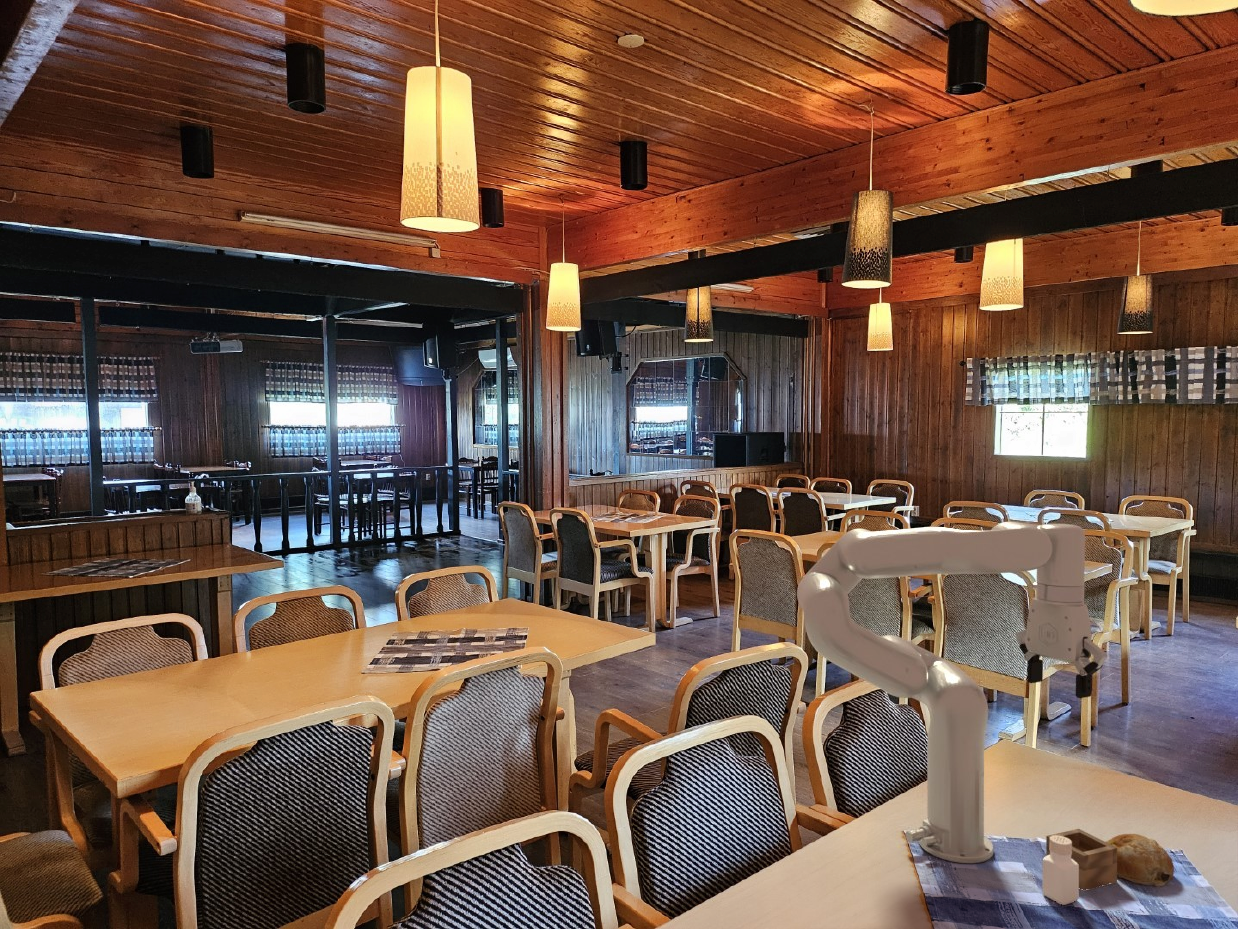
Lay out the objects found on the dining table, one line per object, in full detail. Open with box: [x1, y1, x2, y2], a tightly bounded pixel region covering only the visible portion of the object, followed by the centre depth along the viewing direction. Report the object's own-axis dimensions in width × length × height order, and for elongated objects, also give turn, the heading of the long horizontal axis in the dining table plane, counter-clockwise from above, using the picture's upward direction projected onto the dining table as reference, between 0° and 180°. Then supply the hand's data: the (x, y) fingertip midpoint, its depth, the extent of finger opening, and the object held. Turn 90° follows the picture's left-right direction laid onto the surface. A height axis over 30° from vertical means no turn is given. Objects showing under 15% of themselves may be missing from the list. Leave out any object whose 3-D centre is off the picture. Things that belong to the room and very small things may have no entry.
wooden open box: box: [1045, 828, 1118, 891], centre depth 141 cm, size 7×7×6 cm
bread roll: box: [1105, 833, 1175, 888], centre depth 142 cm, size 10×10×8 cm
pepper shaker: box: [1042, 835, 1080, 906], centre depth 134 cm, size 4×4×10 cm
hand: (1058, 689), depth 148 cm, fingers open, 9 cm apart
